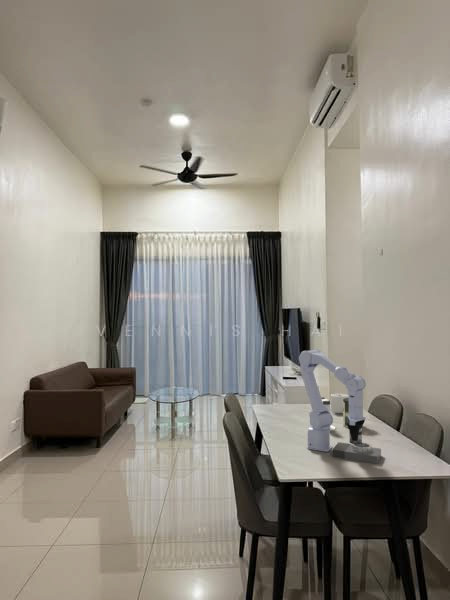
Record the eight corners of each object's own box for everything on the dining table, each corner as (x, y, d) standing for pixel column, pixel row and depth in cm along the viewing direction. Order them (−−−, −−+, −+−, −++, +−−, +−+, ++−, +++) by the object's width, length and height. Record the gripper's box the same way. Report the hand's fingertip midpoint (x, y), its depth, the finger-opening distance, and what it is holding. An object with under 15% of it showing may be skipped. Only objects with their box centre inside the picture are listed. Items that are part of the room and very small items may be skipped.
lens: (348, 443, 175) (348, 428, 175) (350, 440, 179) (350, 426, 179) (361, 445, 172) (361, 430, 173) (362, 441, 177) (362, 427, 177)
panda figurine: (310, 424, 229) (310, 396, 230) (331, 424, 230) (330, 396, 231) (316, 430, 218) (316, 401, 218) (338, 430, 218) (338, 401, 219)
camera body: (332, 456, 178) (332, 444, 179) (338, 449, 188) (338, 437, 188) (377, 464, 170) (377, 451, 170) (381, 455, 180) (381, 443, 180)
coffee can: (367, 427, 223) (366, 401, 223) (349, 429, 220) (349, 402, 221) (356, 423, 233) (355, 397, 233) (339, 424, 230) (339, 398, 231)
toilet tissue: (348, 410, 264) (348, 394, 264) (348, 414, 252) (348, 397, 253) (331, 408, 267) (331, 393, 267) (330, 413, 256) (329, 396, 256)
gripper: (362, 410, 168) (362, 445, 168) (368, 403, 181) (369, 435, 180) (344, 408, 171) (344, 442, 171) (352, 402, 184) (352, 433, 184)
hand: (356, 438), depth 176 cm, fingers closed on lens, 5 cm apart
